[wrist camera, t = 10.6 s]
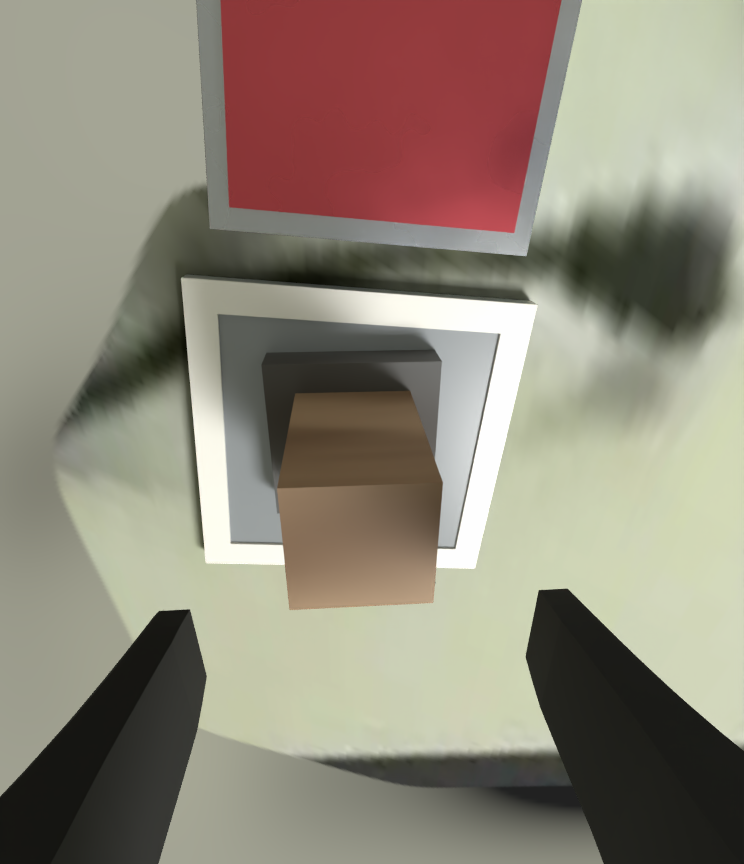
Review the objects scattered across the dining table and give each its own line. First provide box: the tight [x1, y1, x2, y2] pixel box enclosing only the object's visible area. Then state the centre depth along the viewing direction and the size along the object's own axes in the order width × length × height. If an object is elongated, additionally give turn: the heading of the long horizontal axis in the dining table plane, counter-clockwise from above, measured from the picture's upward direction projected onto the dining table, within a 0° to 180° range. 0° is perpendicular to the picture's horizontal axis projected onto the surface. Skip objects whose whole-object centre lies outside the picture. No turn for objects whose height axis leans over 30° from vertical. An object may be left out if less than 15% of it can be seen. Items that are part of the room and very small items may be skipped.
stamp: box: [261, 350, 443, 610], centre depth 14 cm, size 6×6×6 cm
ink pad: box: [196, 0, 582, 256], centre depth 12 cm, size 9×9×2 cm
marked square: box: [181, 274, 538, 568], centre depth 18 cm, size 11×11×1 cm
